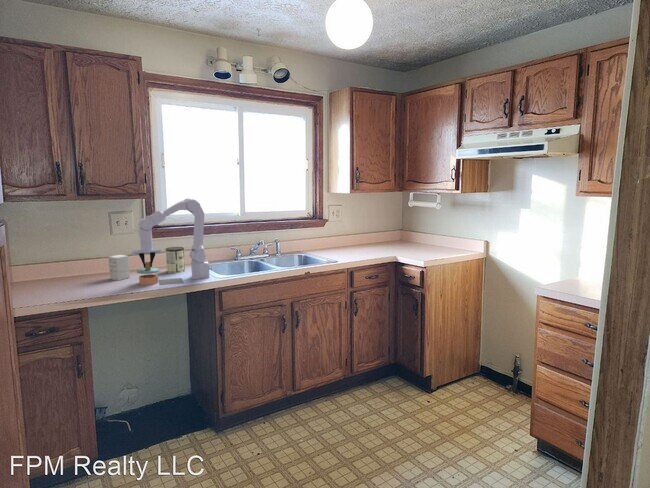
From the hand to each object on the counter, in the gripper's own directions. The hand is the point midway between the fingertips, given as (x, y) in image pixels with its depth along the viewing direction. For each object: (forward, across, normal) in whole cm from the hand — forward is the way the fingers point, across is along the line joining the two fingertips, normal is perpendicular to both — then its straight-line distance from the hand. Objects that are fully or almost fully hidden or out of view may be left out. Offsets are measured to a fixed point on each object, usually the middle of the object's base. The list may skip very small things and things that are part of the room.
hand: (147, 267), depth 222 cm
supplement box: (+9, -14, +18) cm, 25 cm away
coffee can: (+9, +16, +25) cm, 31 cm away
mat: (+9, +11, -1) cm, 14 cm away
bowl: (+9, 0, 0) cm, 9 cm away
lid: (+2, 0, 0) cm, 2 cm away
